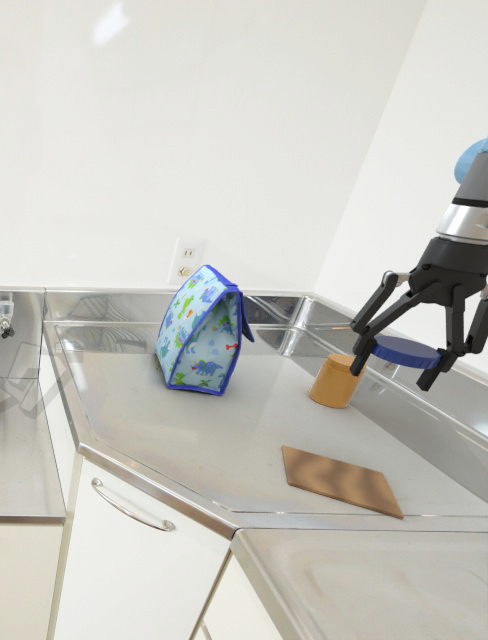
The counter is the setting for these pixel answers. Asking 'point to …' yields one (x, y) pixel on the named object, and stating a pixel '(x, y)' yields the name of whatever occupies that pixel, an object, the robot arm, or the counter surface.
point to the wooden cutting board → (340, 481)
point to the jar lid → (406, 352)
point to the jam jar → (335, 381)
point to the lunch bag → (203, 333)
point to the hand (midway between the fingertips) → (386, 379)
